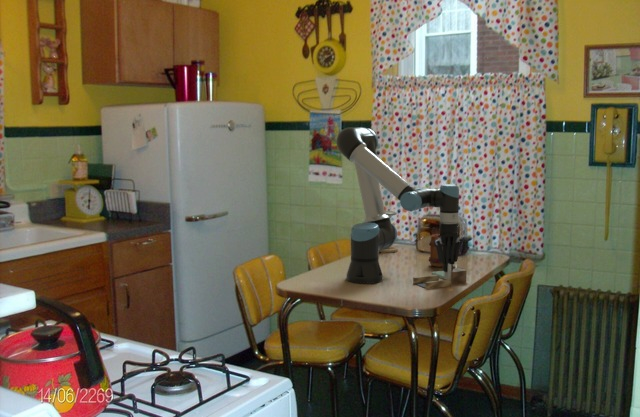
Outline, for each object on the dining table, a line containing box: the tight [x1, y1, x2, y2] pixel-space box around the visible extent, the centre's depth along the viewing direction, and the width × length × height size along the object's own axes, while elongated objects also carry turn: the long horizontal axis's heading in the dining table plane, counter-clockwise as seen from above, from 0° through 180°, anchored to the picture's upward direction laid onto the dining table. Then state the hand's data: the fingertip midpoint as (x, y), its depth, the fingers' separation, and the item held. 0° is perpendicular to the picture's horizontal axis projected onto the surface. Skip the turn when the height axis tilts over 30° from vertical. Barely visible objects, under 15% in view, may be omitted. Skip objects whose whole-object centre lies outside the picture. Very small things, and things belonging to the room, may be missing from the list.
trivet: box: [431, 270, 445, 280], centre depth 279 cm, size 10×10×1 cm
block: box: [444, 267, 467, 285], centre depth 269 cm, size 7×5×5 cm
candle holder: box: [379, 210, 399, 254], centre depth 334 cm, size 12×12×20 cm
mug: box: [428, 234, 443, 268], centre depth 299 cm, size 15×8×15 cm, turn 105°
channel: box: [412, 274, 452, 290], centre depth 264 cm, size 12×10×2 cm
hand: (447, 279), depth 267 cm, fingers closed
